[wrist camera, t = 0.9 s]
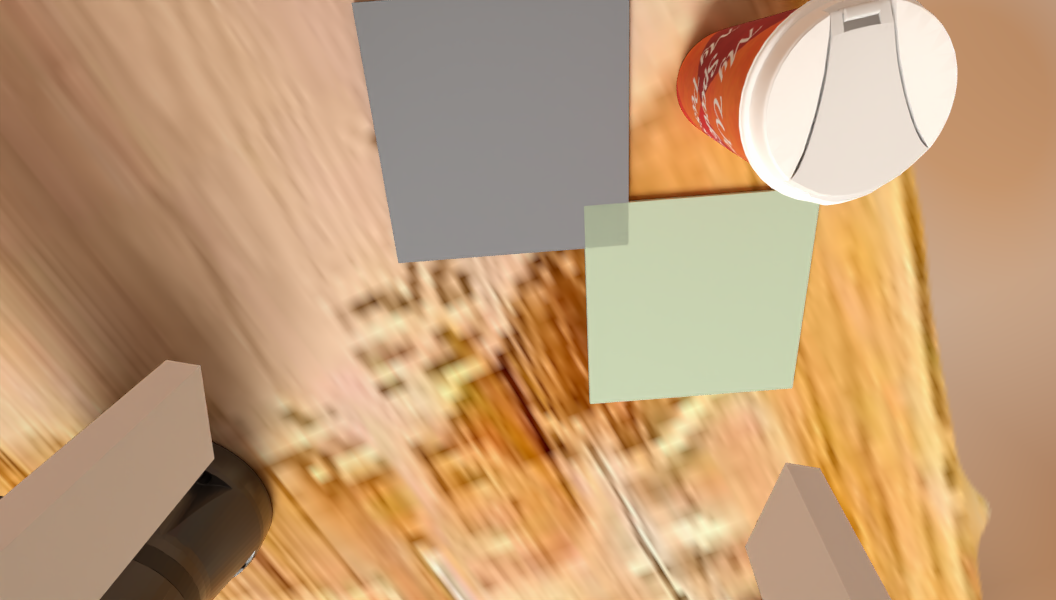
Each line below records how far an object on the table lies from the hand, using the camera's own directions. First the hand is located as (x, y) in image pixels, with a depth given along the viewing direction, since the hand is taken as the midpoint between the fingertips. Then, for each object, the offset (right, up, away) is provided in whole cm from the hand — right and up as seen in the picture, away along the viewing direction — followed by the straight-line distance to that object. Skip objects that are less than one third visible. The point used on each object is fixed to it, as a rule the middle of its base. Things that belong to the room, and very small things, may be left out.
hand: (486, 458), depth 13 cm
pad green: (+13, +4, +28) cm, 31 cm away
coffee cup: (+13, +17, +22) cm, 31 cm away
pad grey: (-1, +14, +23) cm, 27 cm away
